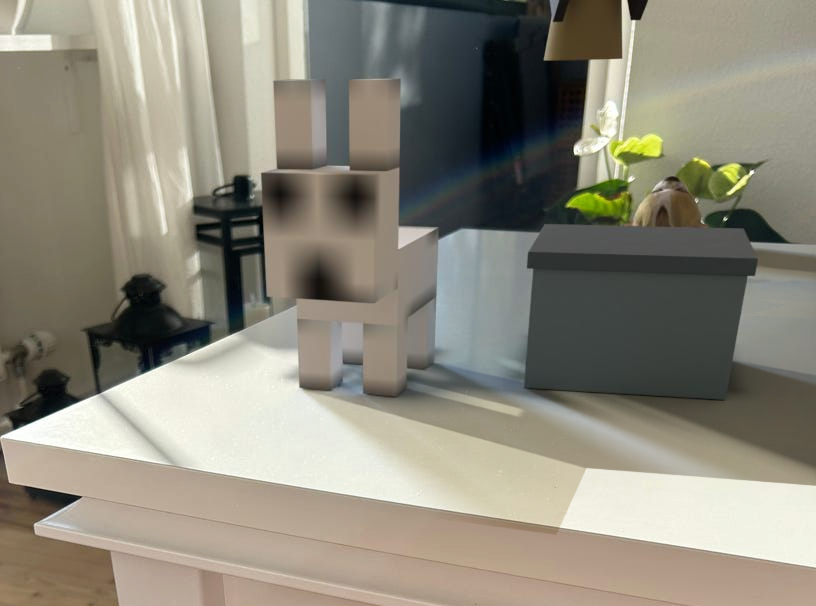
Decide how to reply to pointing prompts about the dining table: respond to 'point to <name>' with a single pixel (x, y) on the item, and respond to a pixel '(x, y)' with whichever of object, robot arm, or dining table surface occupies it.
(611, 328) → the container
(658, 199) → the ceramic sculpture
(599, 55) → the cork
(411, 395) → the dining table surface
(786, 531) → the dining table surface
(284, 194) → the blocky rabbit figurine
